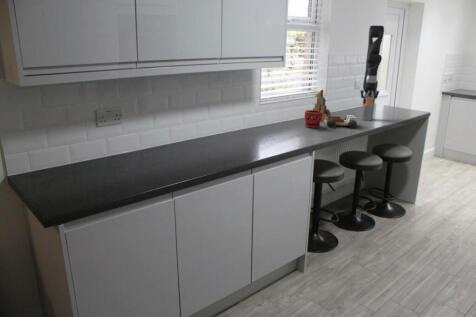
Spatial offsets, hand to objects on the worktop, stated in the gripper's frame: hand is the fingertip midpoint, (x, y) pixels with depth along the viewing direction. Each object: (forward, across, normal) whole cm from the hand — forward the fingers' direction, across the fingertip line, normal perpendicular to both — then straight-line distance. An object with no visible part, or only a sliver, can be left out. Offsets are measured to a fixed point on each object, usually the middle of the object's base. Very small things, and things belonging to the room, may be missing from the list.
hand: (368, 103), depth 300 cm
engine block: (+1, 0, 0) cm, 1 cm away
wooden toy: (+18, +33, -16) cm, 40 cm away
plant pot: (+18, +42, +9) cm, 47 cm away
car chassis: (+17, +20, +2) cm, 27 cm away
